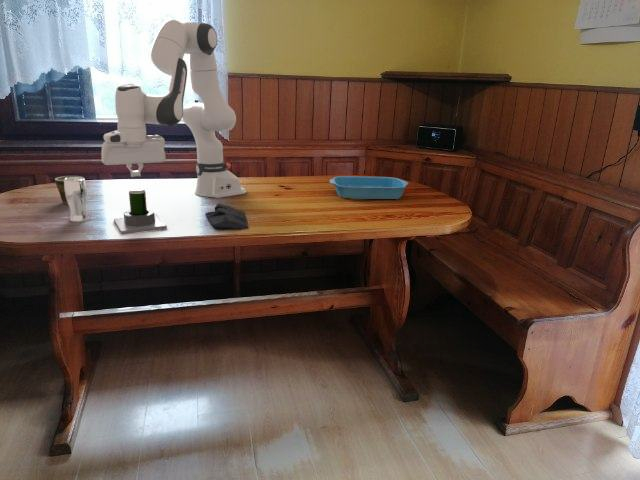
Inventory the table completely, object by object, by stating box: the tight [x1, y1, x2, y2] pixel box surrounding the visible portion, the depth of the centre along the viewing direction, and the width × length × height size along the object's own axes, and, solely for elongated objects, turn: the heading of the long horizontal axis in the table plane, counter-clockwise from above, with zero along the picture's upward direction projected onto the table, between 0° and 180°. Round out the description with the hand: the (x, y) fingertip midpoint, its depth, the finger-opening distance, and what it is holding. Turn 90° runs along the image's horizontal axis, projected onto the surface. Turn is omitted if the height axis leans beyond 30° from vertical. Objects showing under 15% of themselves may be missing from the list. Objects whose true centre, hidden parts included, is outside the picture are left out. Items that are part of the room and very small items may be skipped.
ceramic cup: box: [54, 175, 82, 206], centre depth 194 cm, size 13×10×10 cm
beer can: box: [128, 187, 148, 216], centre depth 169 cm, size 5×5×12 cm
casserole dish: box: [329, 175, 409, 200], centre depth 227 cm, size 37×22×7 cm, turn 94°
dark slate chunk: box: [205, 203, 250, 230], centre depth 180 cm, size 15×22×5 cm
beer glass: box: [64, 176, 90, 223], centre depth 172 cm, size 7×7×15 cm
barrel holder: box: [113, 208, 168, 235], centre depth 171 cm, size 15×15×5 cm
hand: (135, 176), depth 166 cm, fingers closed
